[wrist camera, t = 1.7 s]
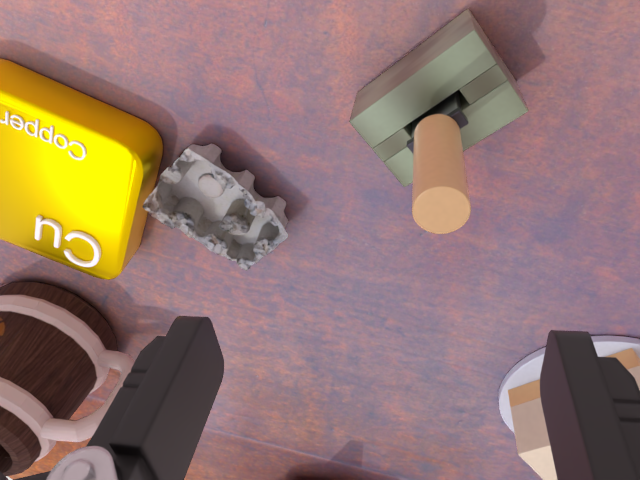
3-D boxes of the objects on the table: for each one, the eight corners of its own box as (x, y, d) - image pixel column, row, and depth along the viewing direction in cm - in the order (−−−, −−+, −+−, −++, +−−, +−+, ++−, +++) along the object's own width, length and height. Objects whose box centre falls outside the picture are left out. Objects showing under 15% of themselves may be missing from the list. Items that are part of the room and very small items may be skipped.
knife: (446, 56, 34) (460, 169, 22) (467, 86, 35) (492, 211, 23) (401, 88, 36) (391, 210, 24) (423, 116, 37) (424, 247, 25)
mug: (20, 362, 64) (-71, 479, 52) (-30, 268, 55) (-155, 383, 43) (174, 382, 61) (115, 509, 49) (148, 287, 52) (68, 415, 40)
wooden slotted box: (631, 347, 46) (660, 415, 40) (684, 419, 50) (716, 489, 45) (507, 390, 52) (517, 454, 46) (564, 451, 56) (579, 516, 51)
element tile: (170, 129, 41) (144, 158, 37) (137, 258, 50) (114, 291, 46) (-17, 46, 39) (-64, 67, 35) (-16, 195, 48) (-53, 224, 44)
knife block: (468, 7, 32) (474, 29, 29) (516, 82, 35) (529, 111, 31) (356, 92, 37) (348, 121, 33) (406, 154, 39) (404, 187, 35)
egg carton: (155, 179, 44) (133, 205, 41) (205, 124, 40) (186, 148, 37) (248, 257, 48) (235, 286, 44) (303, 213, 44) (293, 242, 41)
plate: (732, 346, 45) (736, 353, 44) (656, 459, 56) (658, 466, 55) (517, 325, 48) (519, 332, 47) (484, 437, 58) (485, 444, 58)
